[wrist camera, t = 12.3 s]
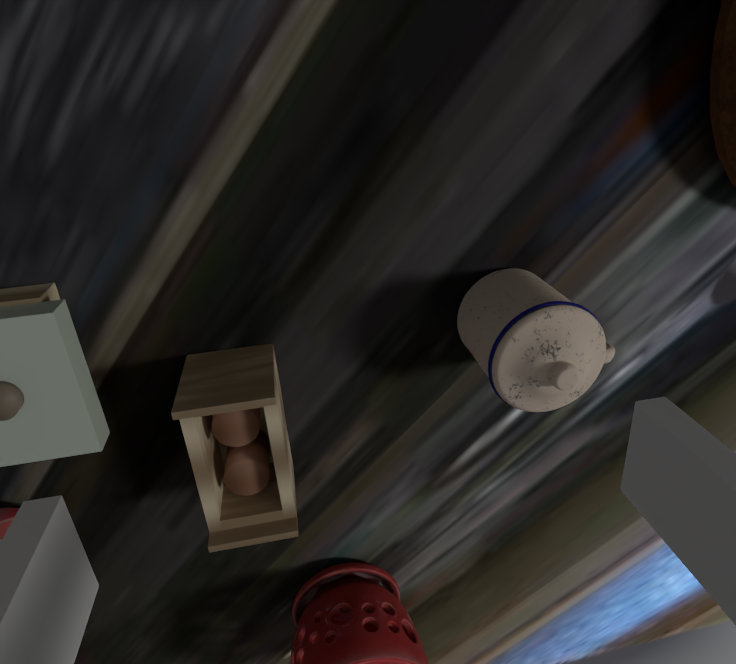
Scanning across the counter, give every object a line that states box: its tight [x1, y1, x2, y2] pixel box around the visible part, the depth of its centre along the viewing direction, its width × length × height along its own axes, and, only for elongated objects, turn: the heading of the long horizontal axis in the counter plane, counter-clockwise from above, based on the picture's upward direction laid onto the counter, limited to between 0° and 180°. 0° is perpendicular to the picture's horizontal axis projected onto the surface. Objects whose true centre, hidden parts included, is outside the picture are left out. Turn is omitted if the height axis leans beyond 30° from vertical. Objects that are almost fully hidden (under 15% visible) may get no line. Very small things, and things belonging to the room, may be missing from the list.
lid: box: [0, 299, 110, 467], centre depth 39 cm, size 11×10×3 cm
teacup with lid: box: [457, 268, 615, 412], centre depth 43 cm, size 12×9×12 cm
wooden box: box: [171, 343, 298, 552], centre depth 44 cm, size 13×7×8 cm, turn 4°
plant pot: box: [291, 562, 428, 664], centre depth 55 cm, size 13×13×12 cm
